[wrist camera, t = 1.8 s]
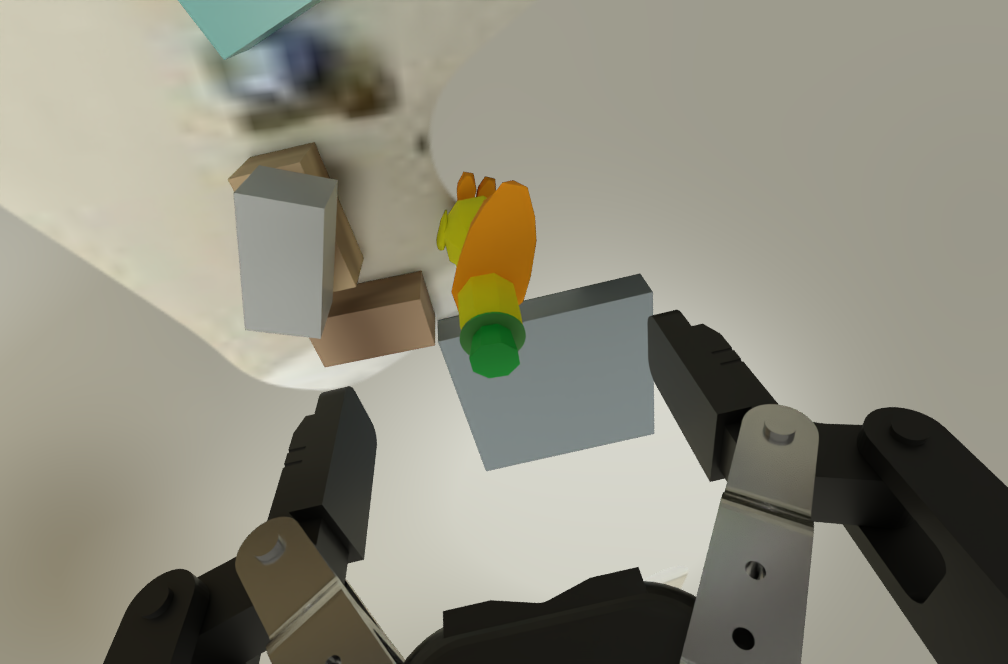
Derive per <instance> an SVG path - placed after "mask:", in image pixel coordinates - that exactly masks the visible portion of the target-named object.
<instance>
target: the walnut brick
mask: <svg viewBox="0 0 1008 664" xmlns="http://www.w3.org/2000/svg"><path fill="white" fill-rule="evenodd" d="M310 340H311V342H312V344H313V346H314V348H315V350H316V352H317V354H318V355H319V357H320V359H321V361H322V363H323V365H324V367H329V366H334V365H339V364H344V363H349V362H354V361H359V360H364V359H369V358H374V357H379V356H384V355H389V354H394V353H399V352H404V351H409V350H414V349H419V348H424V347H429V346H434V345H435V313H434V310H433V307H432V304H431V300H430V297H429V294H428V291H427V288H426V284H425V281H424V278H423V275H422V271H418V272H413V273H408V274H403V275H398V276H393V277H388V278H383V279H378V280H373V281H368V282H364V283H359V284H357V286H356V287H354V288H349V289H345V290H340V291H336V292H333V301H332V305H331V308H330V311H329V314H328V317H327V320H326V324H325V327H324V330H323V333H322V336H321V339H318V338H310Z"/></svg>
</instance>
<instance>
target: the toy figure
mask: <svg viewBox="0 0 1008 664" xmlns="http://www.w3.org/2000/svg"><path fill="white" fill-rule="evenodd" d="M475 194H476V185H475V179H474V175H473V173H468V172H463V174H462V176H461V178H460V180H459V182H458V185H457V202H456V203H455V205H454V206H453V208H452V209H451V211H450V212H449V214H448V215H447V210H445V212H444V214H443V216H442V218H441V221H440V226H439V230H438V234H437V247H438V249H439V250H444V248H445V245H446V248H447V252H448V256H449V260H450V261H451V262H452V263H454V264H456V267H457V268H456V273H455V278H454V283H453V287H452V295H453V297H454V300H455V303H456V306H457V309H458V311H459V322H460V328H461V332H460V344H461V347H462V348H463V350H464V351H465V352H466V353H467V354H468V355H470V356H469V360H470V363H471V367H472V370H473V372H475V373H477V374H480V375H482V376H484V377H487V378H495V377H502V376H508V375H509V374H510V373H511V372H512V371H513V370H514V369H516V368H517V367H518V366H519V365H520V360H519V354H518V351H519V350H520V349H521V348H522V346H523V345H524V343H525V339H526V332H525V328H524V326H523V323H522V317H521V312H520V308H519V305H520V304H521V303H523V301H524V297H525V294H526V290H527V287H528V284H529V281H530V277H531V271H532V265H533V259H534V253H535V247H536V225H535V215H534V211H533V207H532V203H531V199H530V195H529V191H528V188H527V187H526V186H524V185H522V184H520V183H517V182H516V181H513V180H512V181H507V182H503V183H502V184H501V185H500V186H499V188H498V189H497V190H496V184H495V179H494V178H490V177H484V179H483V180H482V182H481V183H480V185H479V186H478V189H477V194H476V197H475Z"/></svg>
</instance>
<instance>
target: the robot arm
mask: <svg viewBox="0 0 1008 664" xmlns="http://www.w3.org/2000/svg"><path fill="white" fill-rule="evenodd" d="M647 326H648V363H649V368H650V372H651V375H652V378H653V380H654V382H655V384H656V386H657V388H658V390H659V391H660V393H661V395H662V397H663V398H664V400H665V402H666V404H667V406H668V407H669V409H670V411H671V413H672V415H673V416H674V418H675V420H676V422H677V423H678V425H679V427H680V429H681V431H682V433H683V434H684V436H685V438H686V440H687V442H688V443H689V445H690V447H691V449H692V450H693V452H694V454H695V456H696V458H697V459H698V461H699V463H700V465H701V467H702V468H703V470H704V472H705V474H706V475H707V477H708V479H709V481H710V482H711V481H716V480H720V479H724V478H725V479H726V481H727V485H726V488H725V492H723V494H722V497H721V501H720V505H719V509H718V513H717V517H716V521H715V525H714V529H713V533H712V537H711V541H710V545H709V549H708V553H707V557H706V561H705V565H704V568H703V573H702V577H701V581H700V585H699V588H698V592H697V596H696V597H695V596H694V595H692V594H690V593H688V592H685V591H683V590H681V589H679V588H676V587H673V586H669V585H666V584H661V583H656V582H646V581H643V579H642V576H641V573H640V570H639V568H638V567H636V568H632V569H628V570H623V571H619V572H615V573H610V574H605V575H601V576H596V577H593V578H589V579H587V580H585V581H583V582H582V583H580V584H578V585H576V586H574V587H572V588H571V589H569V590H567V591H565V592H563V593H561V594H559V595H558V596H556V597H554V598H552V599H550V600H548V601H546V602H543V603H527V602H510V601H492V600H490V601H486V602H482V603H477V604H473V605H468V606H464V607H460V608H455V609H451V610H446V611H443V628H441V629H439V630H438V631H436V632H435V633H433V634H432V635H430V636H429V637H428V638H426V639H425V640H424V641H423V642H422V643H421V644H420V645H418V646H417V647H416V648H415V650H414V651H413V652H412V653H411V654H410V655H409V656H408V657H407V659H406V660H405V659H404V658H403V656H402V655H401V654H400V652H399V651H398V650H397V649H396V647H395V646H394V645H393V644H392V642H391V641H390V640H389V638H388V637H387V636H386V634H385V633H384V632H383V630H382V629H381V627H380V626H379V624H378V623H377V622H376V620H375V619H374V617H373V616H372V615H371V613H370V612H369V610H368V609H367V608H366V606H365V605H364V603H363V602H362V601H361V599H360V598H359V596H358V595H357V594H356V592H355V591H354V589H353V588H352V587H351V585H350V584H349V582H348V581H347V580H346V579H345V578H346V571H347V564H348V563H351V562H355V561H360V560H364V554H365V545H366V536H367V527H368V519H369V510H370V501H371V492H372V483H373V475H374V465H375V457H376V448H377V439H376V433H375V429H374V426H373V424H372V422H371V420H370V418H369V416H368V414H367V413H366V411H365V409H364V407H363V405H362V404H361V402H360V400H359V398H358V396H357V394H356V392H355V391H354V389H353V388H352V387H350V386H348V387H344V388H340V389H335V390H331V391H327V392H323V393H321V394H320V396H319V399H318V403H317V407H316V411H315V414H313V415H309V416H306V417H305V418H304V419H303V421H302V422H301V423H300V425H299V426H298V428H297V429H296V430H295V432H294V433H293V437H292V440H291V444H290V447H289V453H288V454H287V457H286V460H285V463H284V465H285V467H284V468H283V470H282V473H281V477H280V480H279V483H278V487H277V490H276V493H275V497H274V500H273V503H272V507H271V510H270V513H269V517H268V520H267V521H266V522H265V523H263V524H261V525H260V526H258V527H257V528H256V529H255V530H253V531H252V532H251V534H249V535H248V537H247V538H246V539H245V540H244V542H243V543H242V545H241V547H240V548H239V550H238V553H237V556H236V557H235V558H233V559H231V560H229V561H228V562H226V563H224V564H222V565H220V566H218V567H216V568H214V569H212V570H210V571H209V572H207V573H205V574H203V575H201V576H199V577H196V576H194V575H193V574H192V573H191V572H189V571H187V570H184V569H176V570H171V571H169V572H166V573H164V574H162V575H160V576H158V577H157V578H155V579H153V580H152V581H151V582H150V583H148V584H147V585H146V586H145V587H144V588H143V589H142V590H141V591H140V592H139V593H138V594H137V595H136V596H135V598H134V599H133V600H132V602H131V603H130V605H129V606H128V608H127V610H126V612H125V614H124V617H123V619H122V621H121V623H120V626H119V628H118V630H117V633H116V635H115V637H114V640H113V642H112V644H111V647H110V649H109V651H108V653H107V656H106V658H105V661H104V663H103V664H259V661H260V656H261V653H263V652H265V651H267V654H268V656H269V658H270V661H271V662H272V664H801V656H802V646H803V636H804V626H805V616H806V605H807V595H808V586H809V575H810V565H811V555H812V544H813V534H814V522H825V523H836V524H843V525H844V527H845V528H846V530H847V531H848V533H849V534H850V536H851V537H852V539H853V540H854V541H855V543H856V544H857V546H858V547H859V549H860V550H861V552H862V553H863V555H864V556H865V558H866V559H867V561H868V562H869V564H870V565H871V566H872V568H873V569H874V571H875V572H876V574H877V575H878V577H879V578H880V580H881V581H882V582H883V584H884V586H885V587H886V589H887V590H888V591H889V593H890V594H891V596H892V597H893V599H894V600H895V601H896V603H897V605H898V606H899V607H900V609H901V611H902V612H903V613H904V615H905V616H906V618H907V619H908V621H909V622H910V624H911V625H912V627H913V628H914V630H915V631H916V633H917V634H918V635H919V637H920V638H921V640H922V641H923V643H924V644H925V646H926V647H927V649H928V650H929V652H930V653H931V654H932V656H933V657H934V659H935V660H936V662H937V663H938V664H1008V487H1007V486H1006V485H1004V483H1003V482H1002V481H1000V480H999V479H998V478H997V477H996V476H995V475H994V474H993V473H992V472H991V471H990V470H989V469H988V468H987V467H986V466H985V465H984V464H983V463H982V462H980V460H978V459H977V458H976V457H975V456H974V455H973V454H972V453H971V452H970V451H969V450H968V449H967V448H966V447H965V446H964V445H963V444H962V443H961V442H960V441H959V440H957V439H956V438H955V437H954V436H953V435H952V434H951V433H950V432H949V431H948V430H947V429H946V428H945V427H944V426H942V425H941V424H940V423H939V422H937V421H936V420H934V419H933V418H931V417H929V416H927V415H924V414H922V413H920V412H917V411H913V410H910V409H905V408H898V407H888V408H881V409H877V410H875V411H872V412H871V413H870V414H868V415H867V417H866V418H865V421H864V423H863V425H845V424H823V423H815V422H812V421H811V420H810V419H809V418H808V417H807V416H806V415H804V414H803V413H801V412H799V411H798V410H796V409H793V408H790V407H787V406H783V405H778V403H777V402H776V401H775V400H774V398H773V397H772V396H771V395H770V394H769V392H768V391H767V390H766V389H765V387H764V386H763V385H762V384H761V383H760V382H759V380H758V379H757V378H756V376H755V375H754V374H753V373H752V372H751V370H750V369H749V368H748V367H747V366H746V364H745V363H744V362H742V361H741V358H740V357H739V356H738V355H737V354H736V352H735V351H734V350H732V347H731V346H730V345H729V344H728V342H727V341H726V340H725V339H724V337H723V336H722V335H721V334H720V333H718V332H716V331H715V330H713V329H711V328H709V327H707V326H706V325H704V324H699V325H696V326H691V325H690V324H689V322H688V321H687V320H686V318H685V317H684V316H683V314H682V313H681V312H680V311H679V310H673V311H669V312H665V313H661V314H657V315H652V316H649V317H648V322H647Z"/></svg>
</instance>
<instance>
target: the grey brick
mask: <svg viewBox="0 0 1008 664" xmlns="http://www.w3.org/2000/svg"><path fill="white" fill-rule="evenodd" d="M337 189H338V180H334V179H329V178H324V177H318V176H313V175H308V174H303V173H297V172H292V171H287V170H282V169H276V168H271V167H266V166H261V165H259V166H258V167H257V168H256V169H255V170H254V171H253V172H252V173H251V174H250V176H249V177H248V178H247V179H246V180H245V181H244V182H243V183H242V184H241V185H240V186H239V187H238V189H237V190H236V191H235V192H234V204H235V216H236V228H237V239H238V251H239V263H240V275H241V287H242V299H243V311H244V323H245V330H249V331H258V332H266V333H275V334H283V335H292V336H301V337H309V338H318V339H321V336H322V333H323V330H324V327H325V324H326V320H327V317H328V314H329V311H330V308H331V305H332V301H333V281H334V258H335V235H336V212H337Z"/></svg>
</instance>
